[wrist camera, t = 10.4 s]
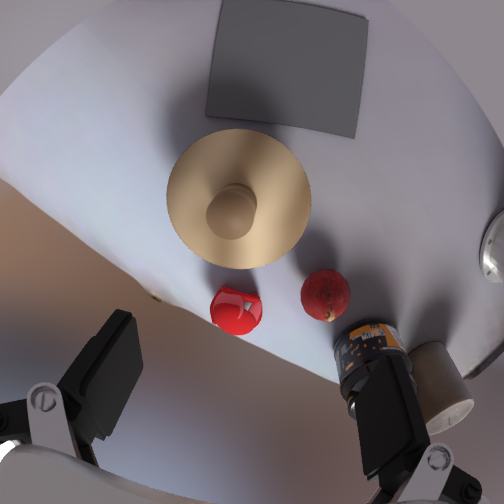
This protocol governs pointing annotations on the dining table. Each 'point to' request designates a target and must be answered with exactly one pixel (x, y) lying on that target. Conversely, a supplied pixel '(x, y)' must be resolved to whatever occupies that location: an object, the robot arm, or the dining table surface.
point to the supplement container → (366, 356)
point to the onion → (325, 295)
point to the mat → (288, 65)
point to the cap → (235, 311)
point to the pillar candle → (439, 387)
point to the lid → (238, 198)
